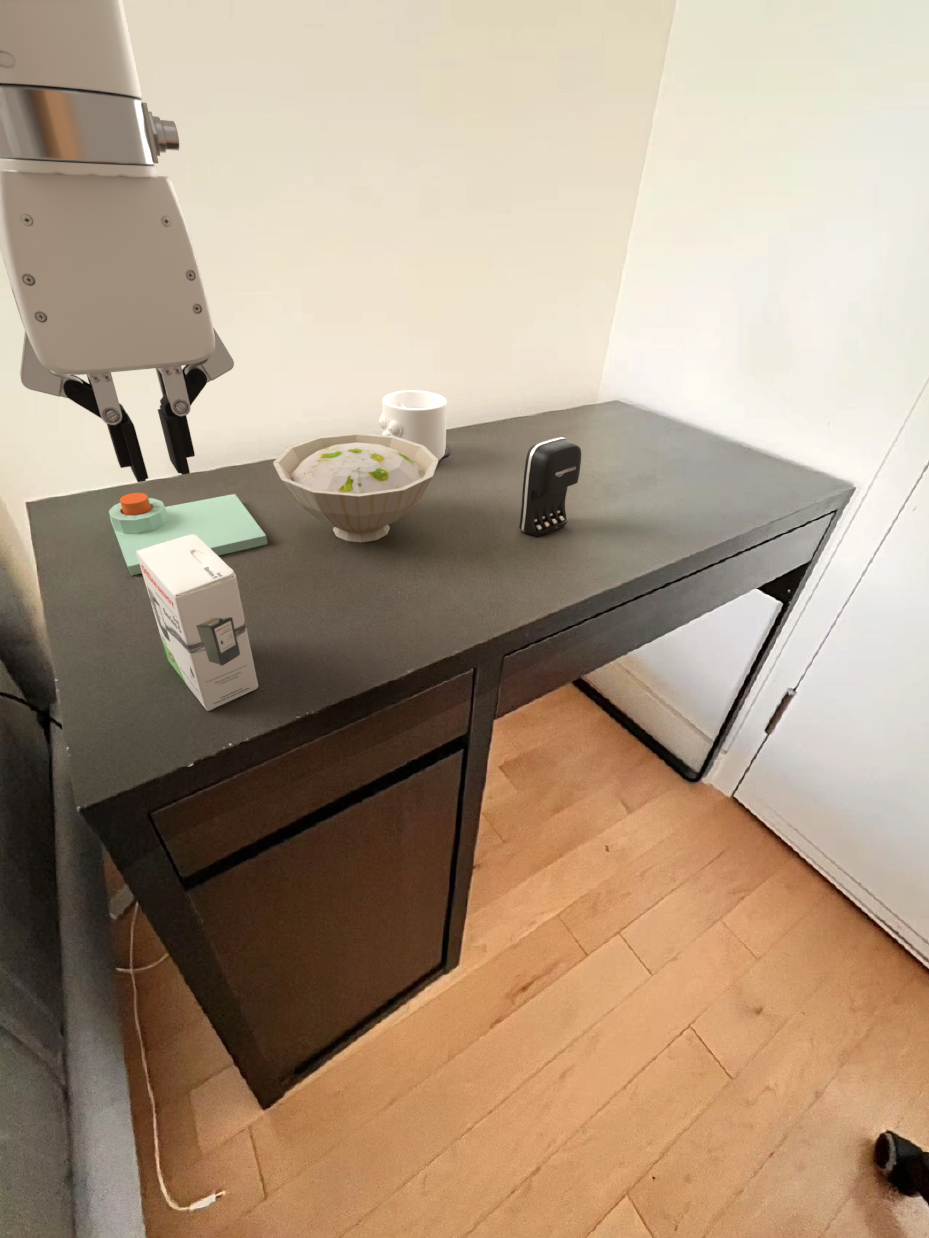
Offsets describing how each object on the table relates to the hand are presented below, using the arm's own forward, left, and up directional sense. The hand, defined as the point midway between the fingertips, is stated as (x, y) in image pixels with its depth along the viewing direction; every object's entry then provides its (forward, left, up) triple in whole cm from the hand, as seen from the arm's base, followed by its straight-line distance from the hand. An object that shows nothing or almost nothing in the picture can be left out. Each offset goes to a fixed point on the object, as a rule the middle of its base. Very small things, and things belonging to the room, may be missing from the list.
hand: (159, 469), depth 43 cm
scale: (+4, +27, -19) cm, 33 cm away
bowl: (+23, +19, -19) cm, 36 cm away
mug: (+40, +38, -19) cm, 58 cm away
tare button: (0, +30, -17) cm, 35 cm away
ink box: (0, 0, -19) cm, 19 cm away
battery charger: (+44, +8, -19) cm, 49 cm away
